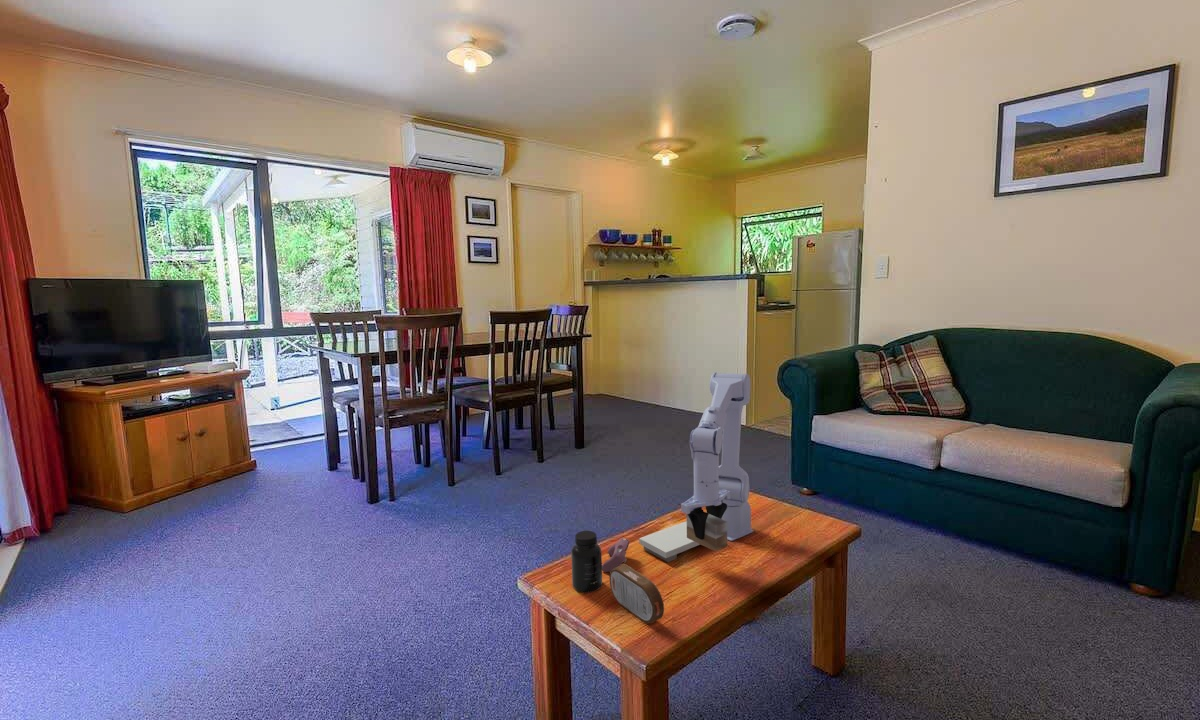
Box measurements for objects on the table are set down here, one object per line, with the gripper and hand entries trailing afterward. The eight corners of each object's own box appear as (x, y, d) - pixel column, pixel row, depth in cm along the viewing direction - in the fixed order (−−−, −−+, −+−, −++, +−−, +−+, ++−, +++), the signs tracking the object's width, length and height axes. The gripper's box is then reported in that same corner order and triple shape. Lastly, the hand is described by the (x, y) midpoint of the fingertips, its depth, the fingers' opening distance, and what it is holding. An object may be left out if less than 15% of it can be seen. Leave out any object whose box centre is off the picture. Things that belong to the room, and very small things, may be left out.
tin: (665, 627, 102) (665, 586, 101) (653, 633, 100) (652, 591, 100) (618, 593, 114) (618, 557, 114) (607, 598, 113) (606, 561, 112)
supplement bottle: (567, 582, 119) (565, 532, 118) (593, 574, 123) (591, 525, 121) (580, 597, 113) (579, 544, 112) (608, 588, 117) (606, 536, 115)
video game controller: (616, 580, 123) (629, 556, 122) (599, 571, 123) (611, 546, 122) (622, 560, 132) (634, 537, 131) (606, 551, 133) (618, 528, 132)
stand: (691, 529, 146) (691, 519, 146) (718, 542, 138) (718, 531, 138) (639, 549, 135) (639, 538, 135) (666, 564, 127) (665, 552, 126)
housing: (698, 533, 128) (698, 509, 127) (727, 546, 120) (727, 521, 120) (686, 537, 125) (686, 513, 125) (715, 551, 118) (715, 526, 117)
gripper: (696, 490, 114) (697, 550, 115) (740, 476, 122) (740, 532, 124) (674, 482, 119) (674, 539, 121) (717, 469, 128) (717, 522, 129)
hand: (706, 535), depth 123 cm, fingers closed on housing, 4 cm apart
